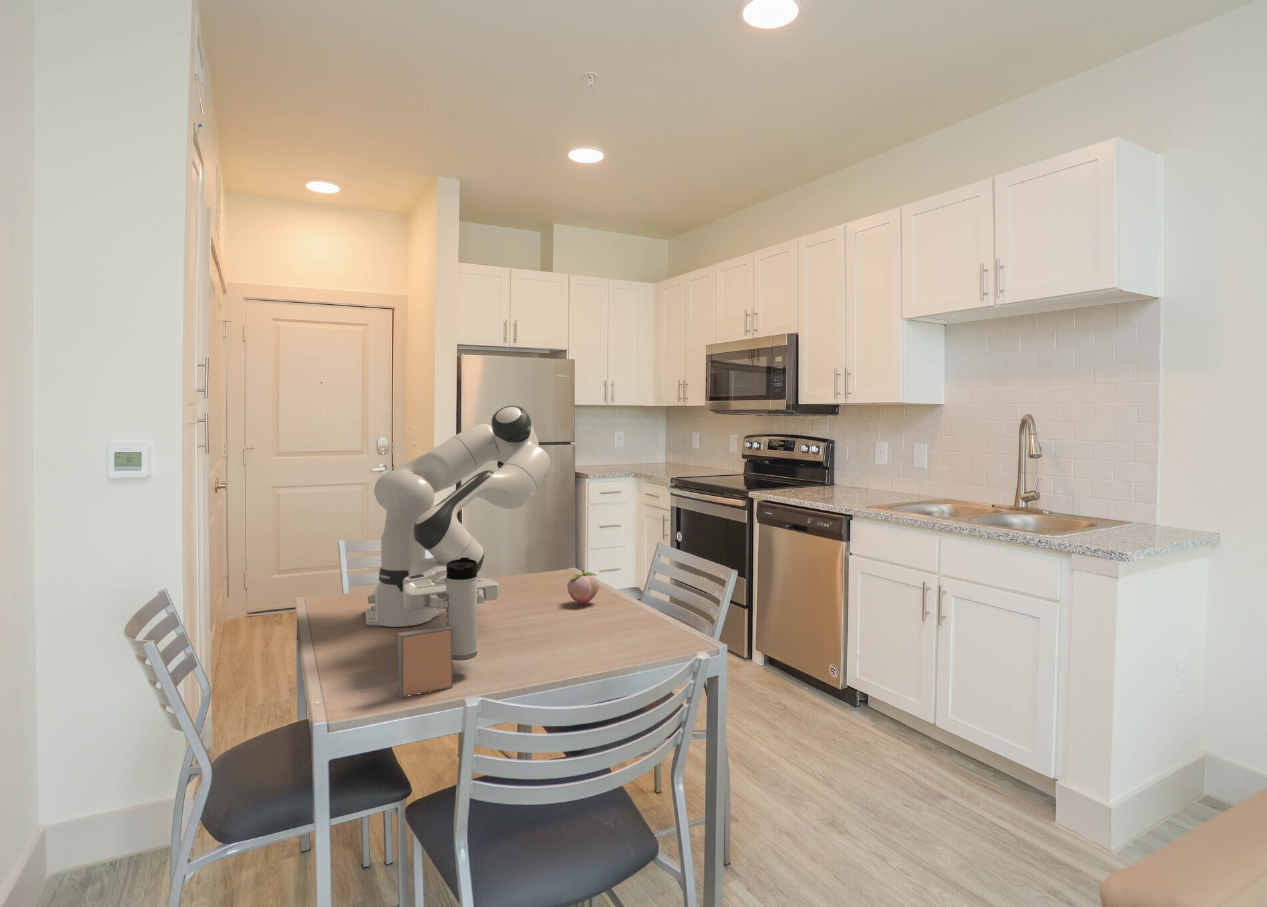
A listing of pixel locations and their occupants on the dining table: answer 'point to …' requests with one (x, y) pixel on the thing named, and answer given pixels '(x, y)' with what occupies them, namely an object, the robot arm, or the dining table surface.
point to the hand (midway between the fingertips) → (463, 602)
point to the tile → (424, 660)
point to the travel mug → (462, 607)
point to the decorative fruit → (583, 587)
